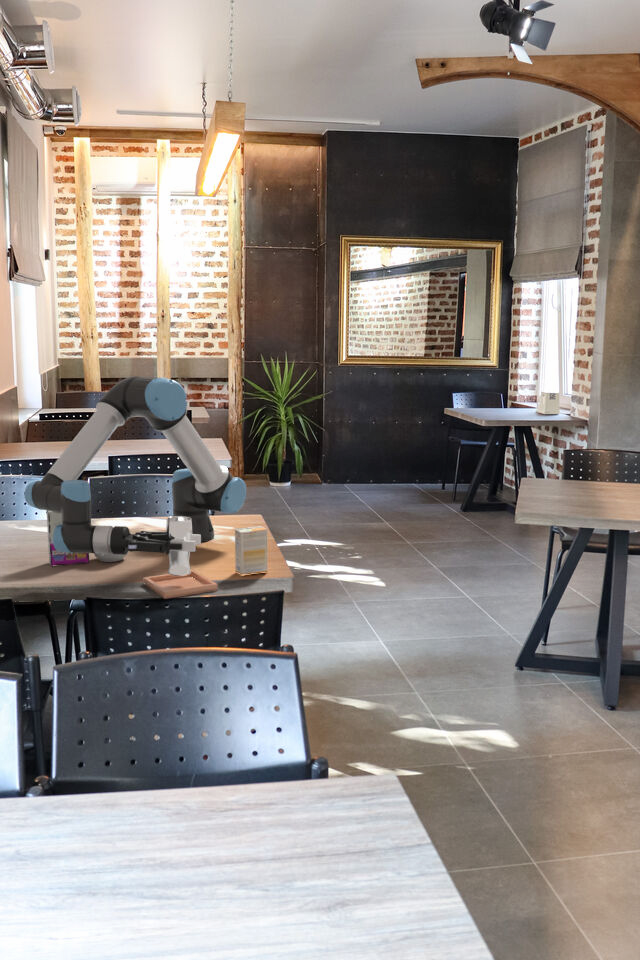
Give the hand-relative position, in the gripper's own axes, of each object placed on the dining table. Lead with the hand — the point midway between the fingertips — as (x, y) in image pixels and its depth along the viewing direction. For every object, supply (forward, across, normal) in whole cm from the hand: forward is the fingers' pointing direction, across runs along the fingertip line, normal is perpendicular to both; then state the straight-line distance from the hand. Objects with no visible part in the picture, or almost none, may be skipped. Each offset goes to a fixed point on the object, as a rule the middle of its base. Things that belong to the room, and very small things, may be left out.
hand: (197, 543), depth 240 cm
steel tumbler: (-5, 0, -9) cm, 10 cm away
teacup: (-31, -27, -13) cm, 43 cm away
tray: (-5, 0, -12) cm, 13 cm away
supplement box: (+12, -16, -12) cm, 24 cm away
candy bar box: (-42, -20, -13) cm, 49 cm away
